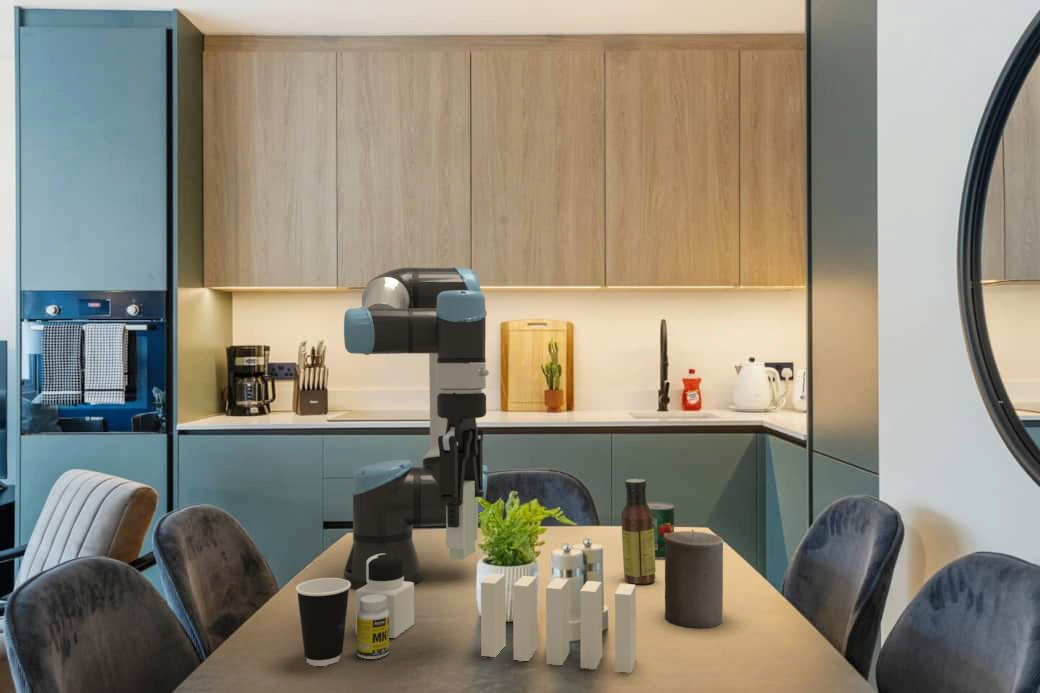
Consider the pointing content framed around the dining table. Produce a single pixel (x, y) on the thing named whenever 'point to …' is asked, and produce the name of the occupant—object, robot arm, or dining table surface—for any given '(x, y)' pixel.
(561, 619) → the domino
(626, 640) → the domino
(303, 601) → the dixie cup
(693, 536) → the pillar candle
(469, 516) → the grey-green tall block
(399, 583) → the white bottle
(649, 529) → the sauce bottle
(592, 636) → the domino
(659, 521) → the canned tomato
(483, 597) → the domino
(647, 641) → the dining table surface
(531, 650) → the domino
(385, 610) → the supplement bottle
